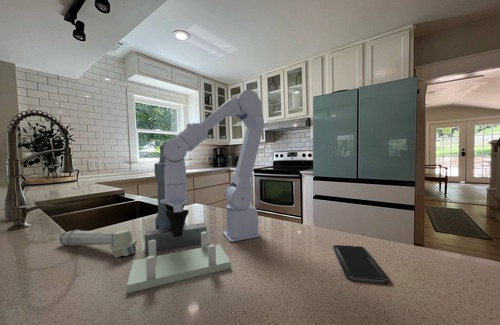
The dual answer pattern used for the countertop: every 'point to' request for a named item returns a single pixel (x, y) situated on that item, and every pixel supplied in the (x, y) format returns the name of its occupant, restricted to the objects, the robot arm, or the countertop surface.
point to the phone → (359, 265)
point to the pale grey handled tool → (102, 240)
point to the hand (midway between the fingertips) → (176, 231)
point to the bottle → (161, 192)
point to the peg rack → (176, 265)
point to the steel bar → (167, 240)
